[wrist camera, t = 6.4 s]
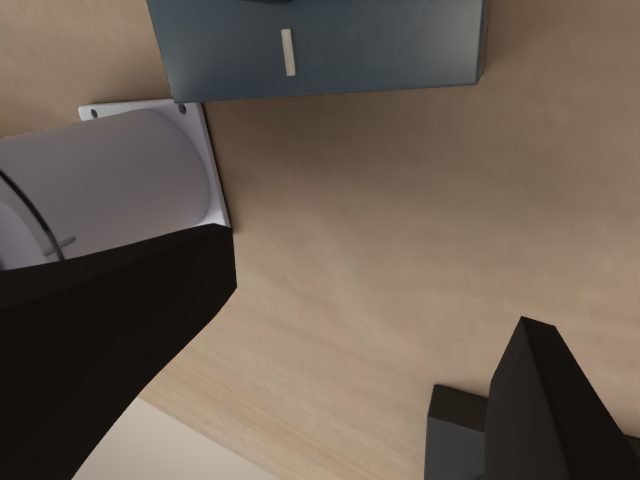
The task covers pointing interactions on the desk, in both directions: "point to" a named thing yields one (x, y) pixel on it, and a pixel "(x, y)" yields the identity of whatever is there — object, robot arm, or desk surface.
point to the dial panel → (317, 46)
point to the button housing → (460, 436)
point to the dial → (268, 1)
